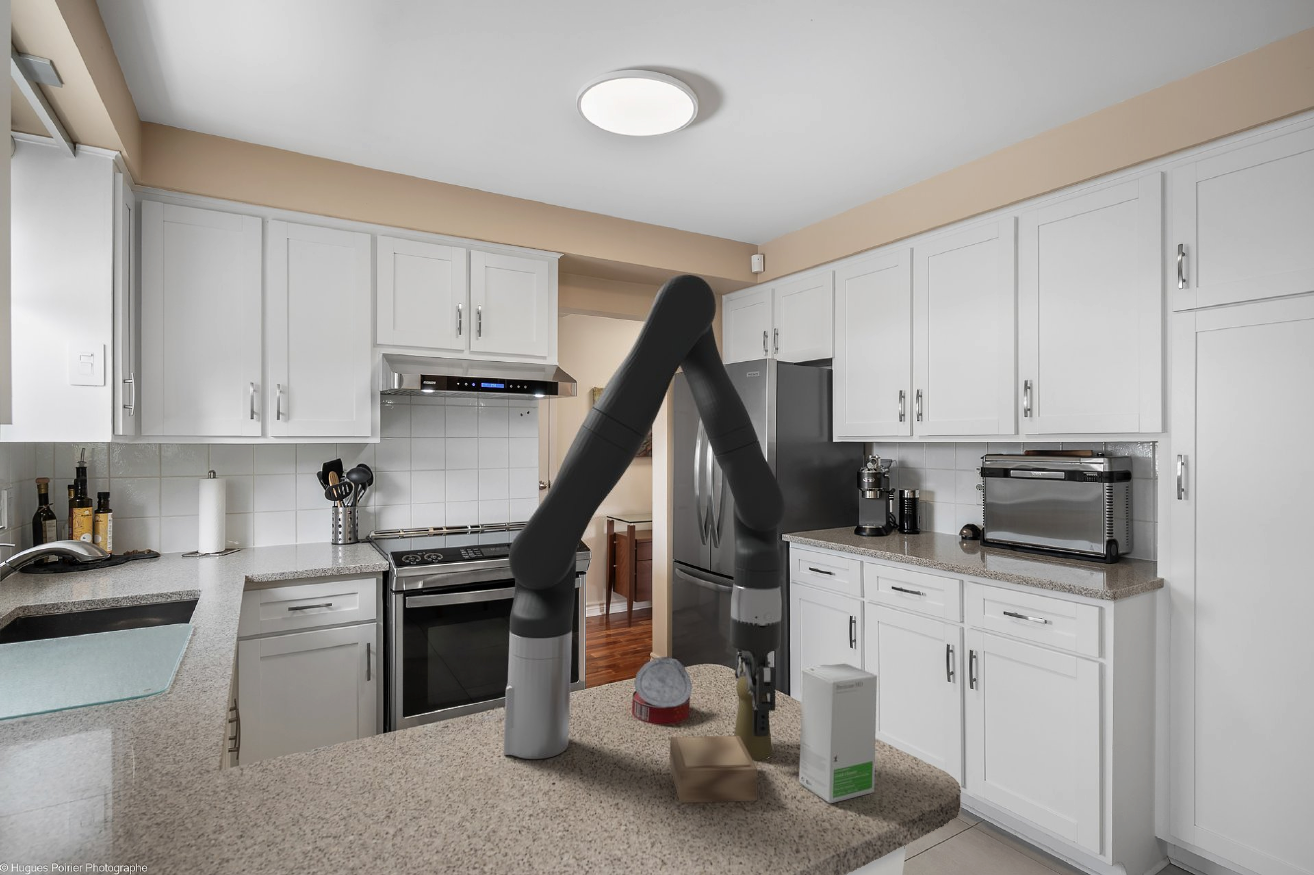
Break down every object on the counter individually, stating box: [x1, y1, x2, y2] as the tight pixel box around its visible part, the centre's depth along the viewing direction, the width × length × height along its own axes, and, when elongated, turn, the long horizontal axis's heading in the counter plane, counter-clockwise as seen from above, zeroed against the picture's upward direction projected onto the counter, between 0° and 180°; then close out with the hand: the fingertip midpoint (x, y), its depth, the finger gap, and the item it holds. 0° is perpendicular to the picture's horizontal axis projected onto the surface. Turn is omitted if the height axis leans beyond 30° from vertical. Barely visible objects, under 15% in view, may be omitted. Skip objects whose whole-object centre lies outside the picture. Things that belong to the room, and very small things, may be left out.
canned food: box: [631, 656, 693, 726], centre depth 114 cm, size 11×10×10 cm
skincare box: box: [798, 663, 878, 804], centre depth 90 cm, size 8×7×16 cm
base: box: [669, 735, 759, 804], centre depth 90 cm, size 10×10×4 cm
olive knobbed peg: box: [733, 676, 773, 761], centre depth 100 cm, size 6×6×11 cm
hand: (752, 723), depth 100 cm, fingers open, 8 cm apart
